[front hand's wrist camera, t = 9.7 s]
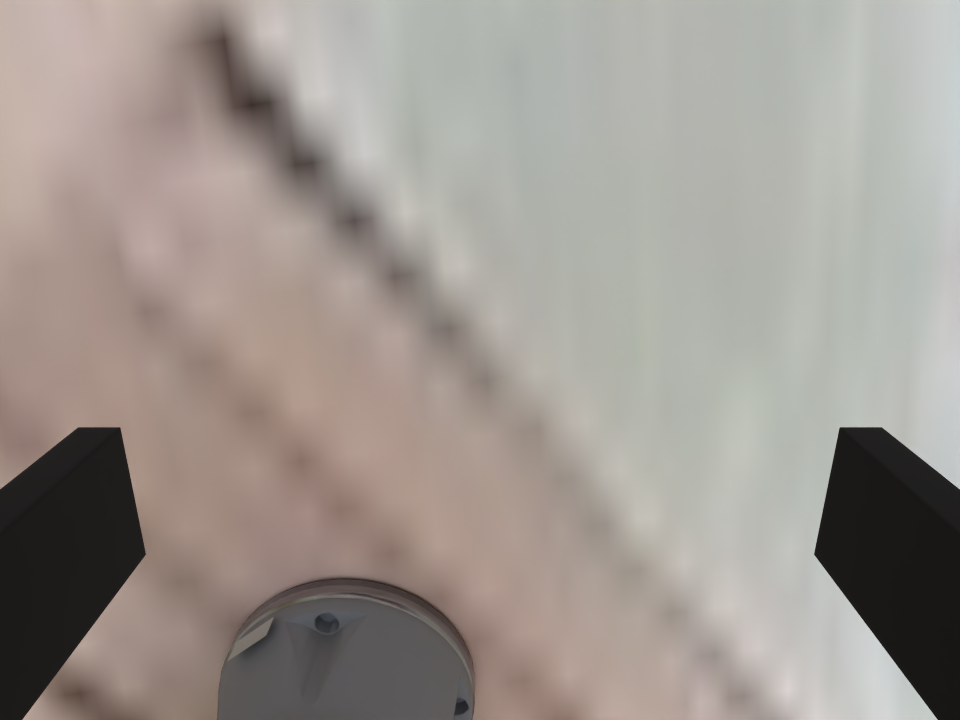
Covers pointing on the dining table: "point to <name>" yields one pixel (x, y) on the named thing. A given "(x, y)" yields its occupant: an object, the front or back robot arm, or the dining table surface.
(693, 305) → the dining table surface
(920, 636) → the front robot arm
